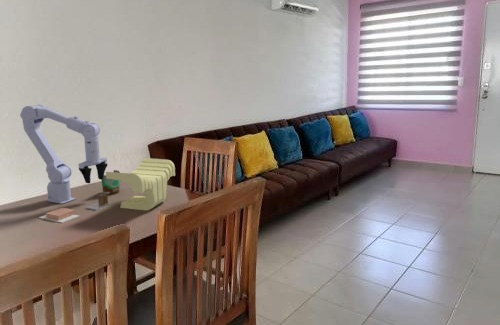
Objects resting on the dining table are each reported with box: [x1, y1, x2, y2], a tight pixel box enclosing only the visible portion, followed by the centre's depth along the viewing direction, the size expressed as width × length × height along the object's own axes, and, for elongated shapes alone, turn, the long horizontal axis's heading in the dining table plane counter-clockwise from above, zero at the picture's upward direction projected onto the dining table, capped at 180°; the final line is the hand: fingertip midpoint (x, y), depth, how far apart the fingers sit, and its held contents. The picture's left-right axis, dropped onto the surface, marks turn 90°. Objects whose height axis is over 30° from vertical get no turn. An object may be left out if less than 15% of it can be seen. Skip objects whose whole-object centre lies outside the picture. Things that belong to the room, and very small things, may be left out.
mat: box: [38, 214, 80, 224], centre depth 157 cm, size 13×8×1 cm, turn 66°
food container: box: [100, 169, 121, 196], centre depth 191 cm, size 12×6×10 cm, turn 168°
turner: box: [85, 193, 111, 212], centre depth 170 cm, size 8×6×5 cm
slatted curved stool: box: [105, 157, 176, 211], centre depth 172 cm, size 30×16×18 cm, turn 165°
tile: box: [45, 207, 76, 220], centre depth 158 cm, size 7×2×8 cm
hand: (94, 181), depth 176 cm, fingers open, 7 cm apart
